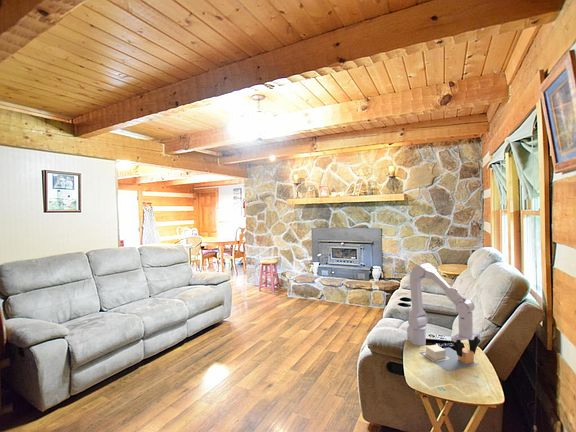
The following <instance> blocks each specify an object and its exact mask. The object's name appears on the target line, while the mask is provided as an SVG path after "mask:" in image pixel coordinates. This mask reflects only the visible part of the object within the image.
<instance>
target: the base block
mask: <svg viewBox="0 0 576 432" xmlns="http://www.w3.org/2000/svg"><path fill="white" fill-rule="evenodd" d="M425 346H426V347H425V352H426V355H428V356H430V357H431V358H433V359H434V360H439V359H444V358H446V355H445V349H443V348H444V347H443V348H442V347H441V346H440V345H438V344H431V345H425Z"/></svg>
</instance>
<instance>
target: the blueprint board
mask: <svg viewBox="0 0 576 432" xmlns="http://www.w3.org/2000/svg"><path fill="white" fill-rule="evenodd" d="M443 349H445V355H446V358H444V359H439V360H434V359H433V358H431V357H430V356H428V355H426V351H421V352H420V351H419V354H420V355H421V356H423V357H425V358H426V359H428V360H429V361H431V362H432V363H434V364H435V365H437V366H438V367H439V368H440V369H442V370H444V371H446V372H451V371H455V370H460V369H465V368H470V367H475V366H479V365H480V364H479V363H477V362H476V361H474V362H473V363H469V364H465V363H463V362H462V361H460V360H458V355H457V352H456V349H455V350H454V349H453V348H451V347H449V346H448V347H443Z"/></svg>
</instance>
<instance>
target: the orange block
mask: <svg viewBox="0 0 576 432" xmlns="http://www.w3.org/2000/svg"><path fill="white" fill-rule="evenodd" d="M458 360H460V361H462V362H463V363H465V364H469V363H473V362H475V354H474V352H473V351H471V350H470V348H467V347H463V349H462V357H460V356H458Z"/></svg>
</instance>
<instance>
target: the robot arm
mask: <svg viewBox="0 0 576 432" xmlns="http://www.w3.org/2000/svg"><path fill="white" fill-rule="evenodd" d="M424 279H427V280H432V281H433V282H434V283H435V284H436V285H437V286H439V287H440V288H441V289H442V291H444V295H445V296H446V297H447V298H448V299H449V301H451V303H453V305H454V306H455V310H456V312H457V314H458V316H457V317H458V318H457V319H458V333H457V334H455V335H452V336H451V340H450V341H451V343H452V344H453V346H454V349H455V351H456V352H457V355H458V356H460V357H462V349H463V348H464V345H465V343H463V342H462V341H464V340H468V347H469V350H471V351H473V352H474V355H475V354H476V351H477V349H478V346H479V344H480V343H481V339H480V338H481V337H480V335H481V334H480V333H479V332H477V331H475V332H473V331H474V330H473V329H474V328H473V326H474V324H473V323H474V322H473V311H474V310H475V308H476V306H475V303H474V302H473V301H472V300H471V299H468V298H467V297H465V296H464V295H463V294H462V293H461V292H460V291H459V289H458V288H455V287H454V286H450V285H449V284H448V282H447V281H446V280H445V279H444V278H443V277H442V276H441V274H440V273H438V271H437V268H435V266H433V265H432V264H431V263H430V262H425V263H421V264H416V265H414V266H412V268H411V273H410V275H409V285H410V287H409V288H410V299H411V300H410V301H411V310H410V312H409V314H408V316H409V317H408V319H407V322H408V324H407V325H408V327H407V329H406V337H407V338H406V340H408V341H409V342H410V343H411V344H413V345H414V346H420V347H422V346H423V347H424V346H426V344H427V343H426V341H427V340H426V339H427V338H426V337H427V336H426V329H427V325H428V324H429V319H428V316H427V313H426V311H425V310H424V306H423V304H424V303H423V293H422V290H423V289H422V280H424Z"/></svg>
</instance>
